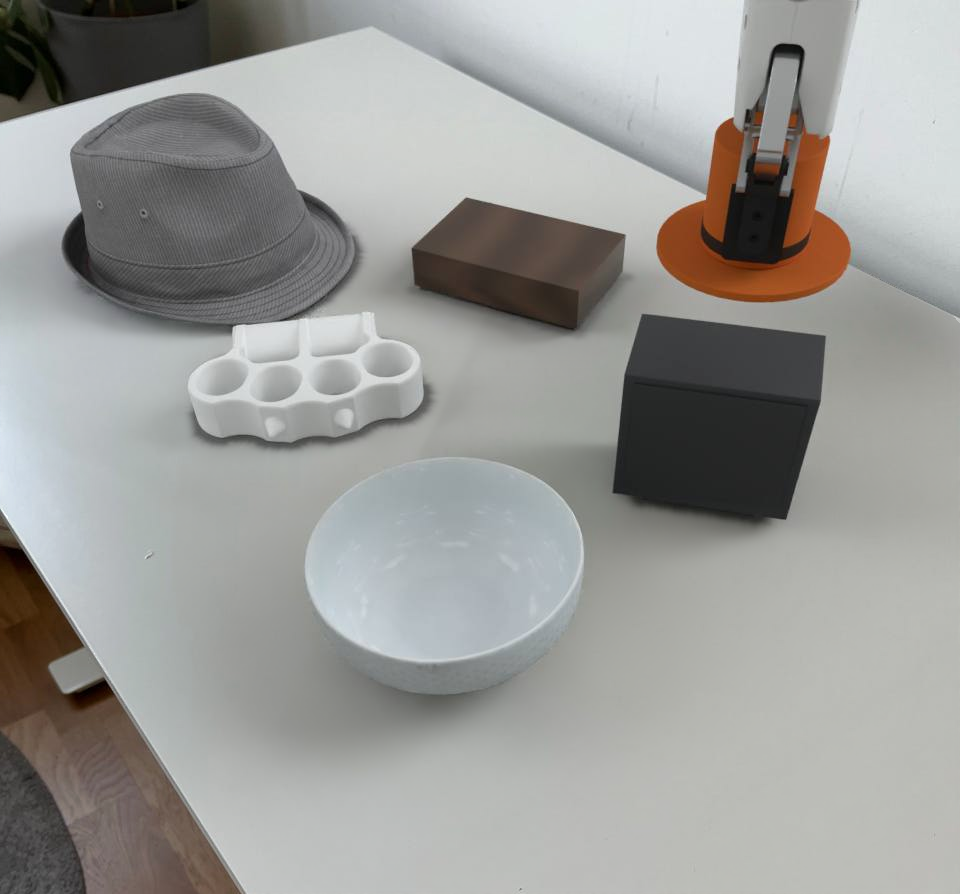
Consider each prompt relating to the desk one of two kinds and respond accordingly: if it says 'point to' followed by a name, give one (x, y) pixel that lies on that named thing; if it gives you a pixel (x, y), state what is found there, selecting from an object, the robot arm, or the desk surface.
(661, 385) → the dark grey cabinet box
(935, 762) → the desk surface
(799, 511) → the desk surface
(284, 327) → the white brass knuckles
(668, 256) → the top hat
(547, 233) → the brown wooden block
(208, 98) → the fedora
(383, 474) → the cereal bowl
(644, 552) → the desk surface
